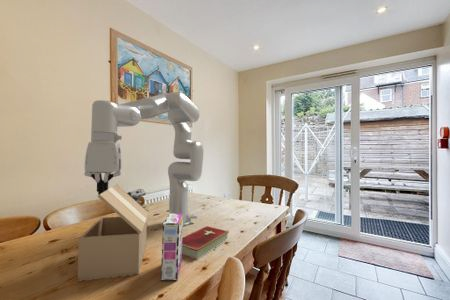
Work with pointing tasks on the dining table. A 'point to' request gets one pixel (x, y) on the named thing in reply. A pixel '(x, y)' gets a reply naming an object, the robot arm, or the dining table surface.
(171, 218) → the candy bar box
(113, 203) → the carton lid
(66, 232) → the dining table surface
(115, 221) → the carton
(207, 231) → the hardcover book
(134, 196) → the figurine
